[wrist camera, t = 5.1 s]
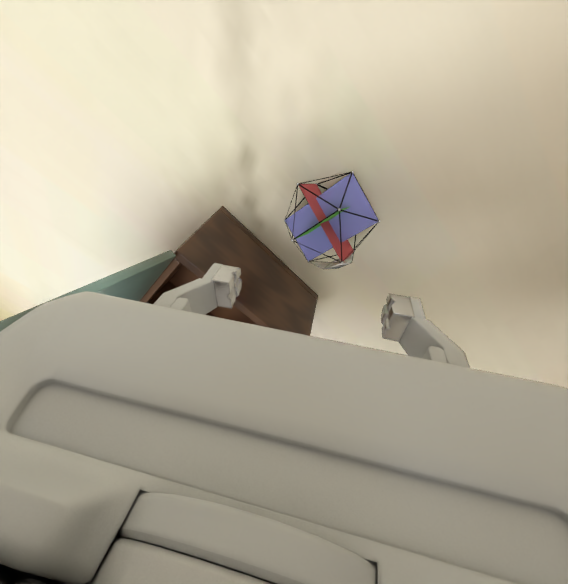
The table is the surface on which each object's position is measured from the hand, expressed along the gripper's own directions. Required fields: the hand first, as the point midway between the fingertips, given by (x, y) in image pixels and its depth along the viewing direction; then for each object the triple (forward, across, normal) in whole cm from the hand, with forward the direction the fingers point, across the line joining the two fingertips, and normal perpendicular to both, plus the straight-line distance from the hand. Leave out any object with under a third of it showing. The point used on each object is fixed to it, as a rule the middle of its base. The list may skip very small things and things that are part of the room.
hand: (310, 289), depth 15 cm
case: (+12, +10, +12) cm, 19 cm away
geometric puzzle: (+13, 0, 0) cm, 13 cm away
